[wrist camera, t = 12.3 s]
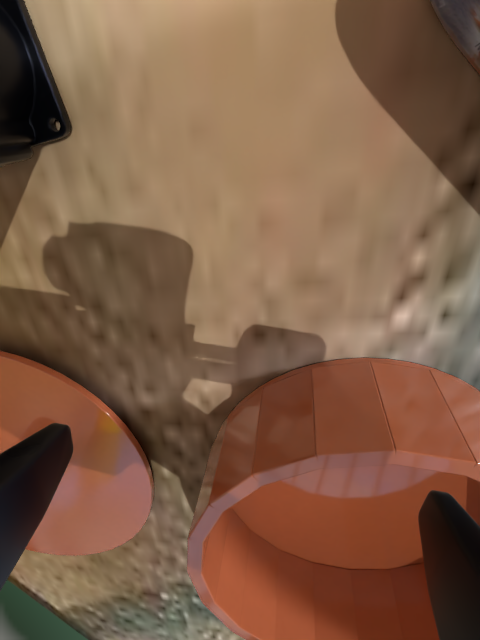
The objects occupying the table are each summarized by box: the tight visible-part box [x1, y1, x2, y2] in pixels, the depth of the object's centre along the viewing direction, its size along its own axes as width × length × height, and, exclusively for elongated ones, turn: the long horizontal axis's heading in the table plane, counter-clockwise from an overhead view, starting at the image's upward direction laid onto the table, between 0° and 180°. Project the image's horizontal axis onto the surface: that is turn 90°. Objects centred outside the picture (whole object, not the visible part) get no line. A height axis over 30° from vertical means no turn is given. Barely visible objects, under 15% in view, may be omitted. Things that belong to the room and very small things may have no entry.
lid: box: [0, 351, 154, 556], centre depth 26 cm, size 20×20×5 cm
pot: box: [187, 358, 480, 640], centre depth 22 cm, size 19×19×6 cm
